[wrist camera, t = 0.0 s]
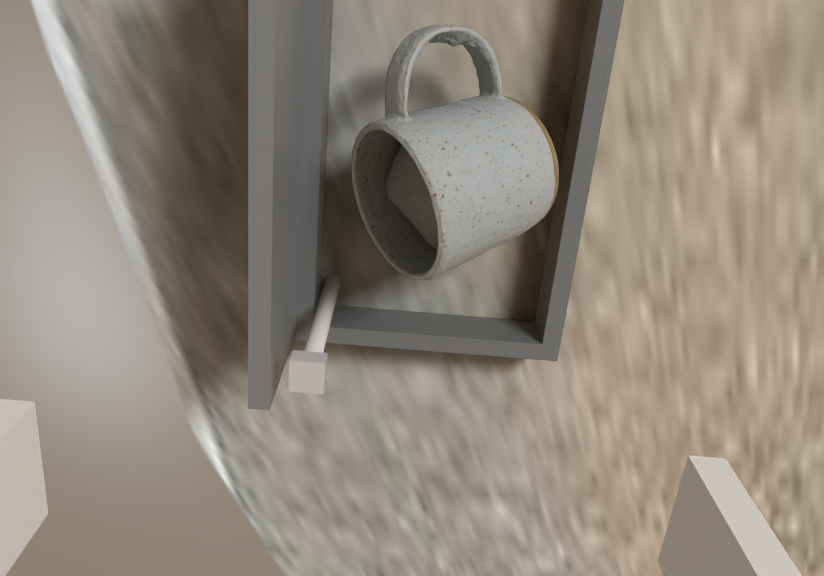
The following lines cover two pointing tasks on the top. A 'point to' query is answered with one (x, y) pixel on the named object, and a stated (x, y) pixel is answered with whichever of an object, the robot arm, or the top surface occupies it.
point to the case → (304, 211)
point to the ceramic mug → (451, 166)
